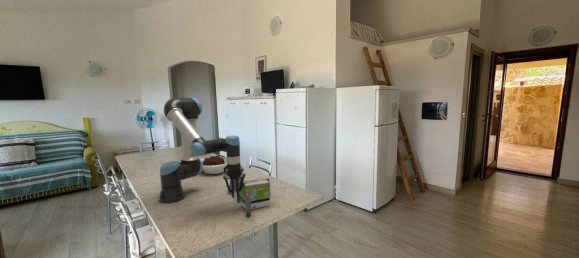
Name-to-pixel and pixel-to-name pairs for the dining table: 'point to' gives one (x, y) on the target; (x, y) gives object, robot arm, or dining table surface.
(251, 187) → the tea box
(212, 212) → the dining table surface
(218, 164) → the bowl of brown food
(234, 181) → the moka pot
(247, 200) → the gate posts
